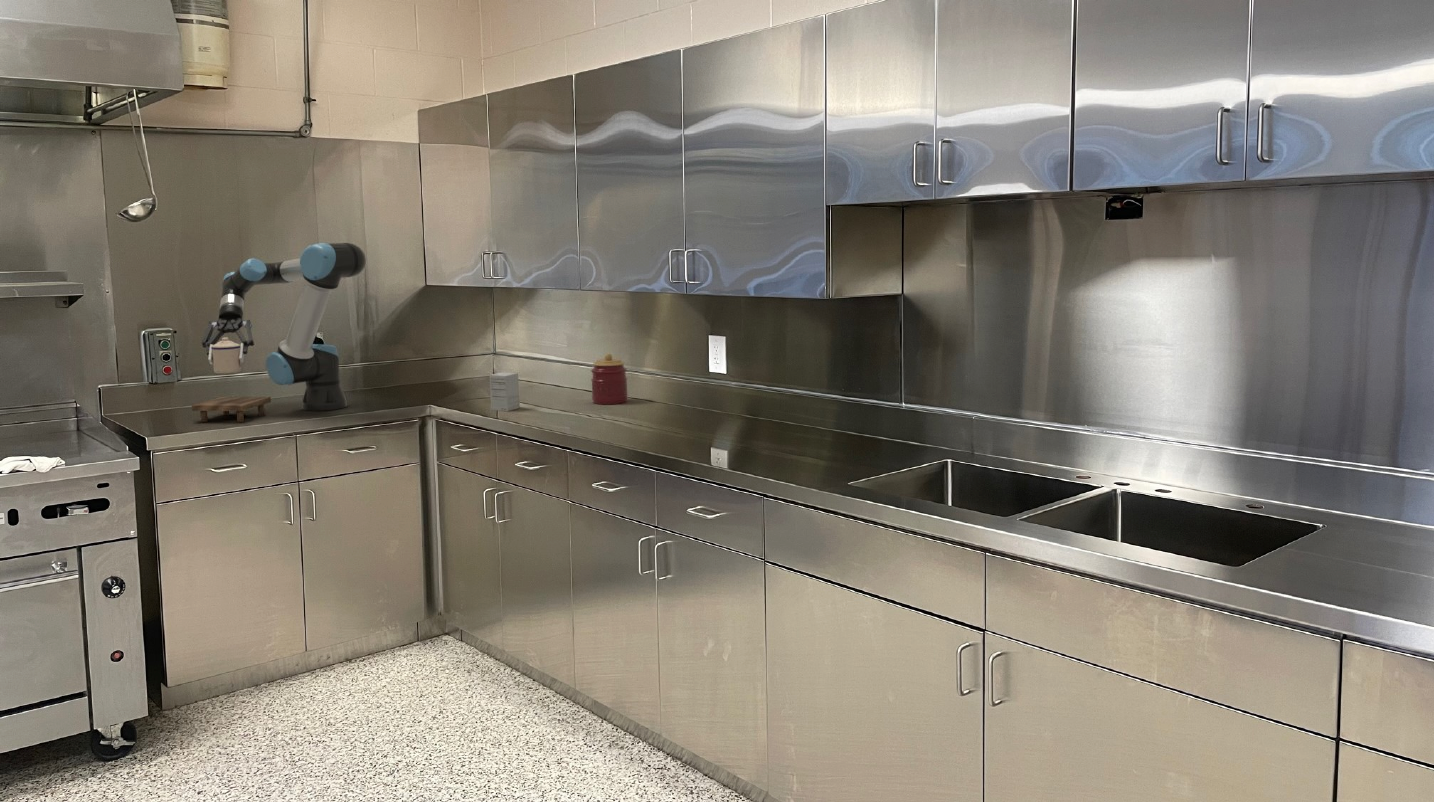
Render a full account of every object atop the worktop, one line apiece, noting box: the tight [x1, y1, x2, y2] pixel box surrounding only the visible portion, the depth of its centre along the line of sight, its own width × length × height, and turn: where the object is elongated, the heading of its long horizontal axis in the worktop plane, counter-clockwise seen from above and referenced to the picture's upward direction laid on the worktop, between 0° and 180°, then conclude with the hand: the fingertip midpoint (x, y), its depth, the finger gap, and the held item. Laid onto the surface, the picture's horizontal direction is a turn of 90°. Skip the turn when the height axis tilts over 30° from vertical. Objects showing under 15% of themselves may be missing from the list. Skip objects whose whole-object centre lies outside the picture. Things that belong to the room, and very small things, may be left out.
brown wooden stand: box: [191, 396, 272, 423], centre depth 365 cm, size 18×18×6 cm
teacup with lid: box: [211, 337, 243, 374], centre depth 362 cm, size 12×9×12 cm
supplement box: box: [489, 371, 521, 412], centre depth 373 cm, size 7×7×13 cm
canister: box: [590, 353, 629, 405], centre depth 384 cm, size 13×13×18 cm
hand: (225, 361), depth 359 cm, fingers closed on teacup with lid, 9 cm apart
